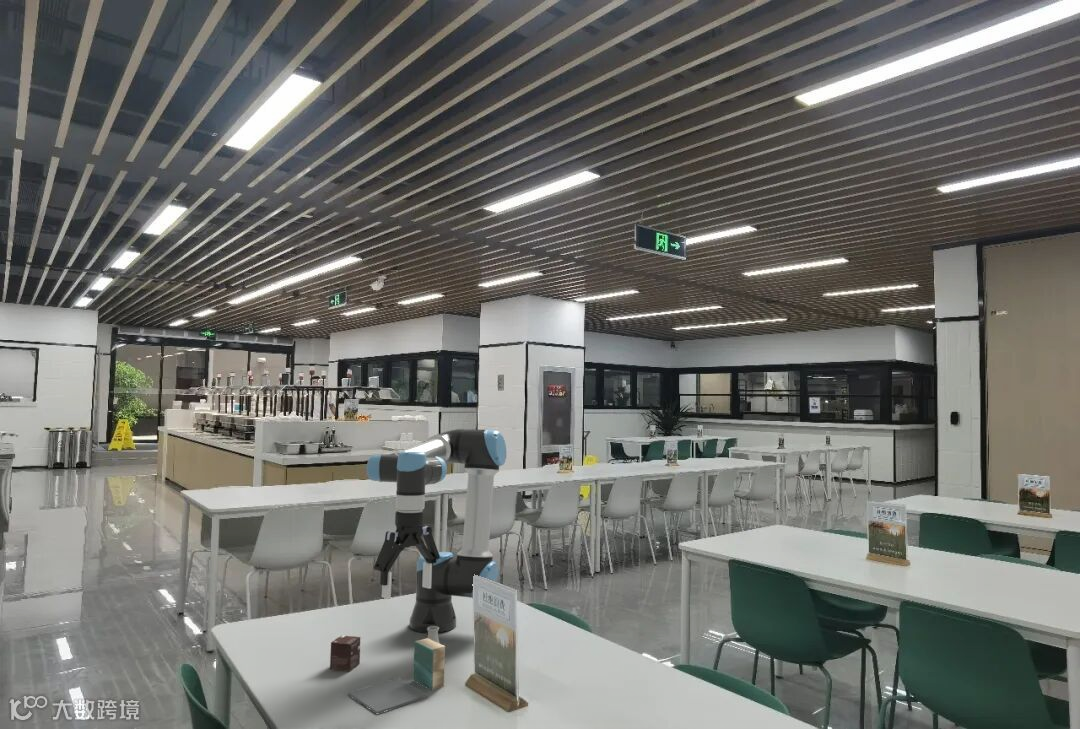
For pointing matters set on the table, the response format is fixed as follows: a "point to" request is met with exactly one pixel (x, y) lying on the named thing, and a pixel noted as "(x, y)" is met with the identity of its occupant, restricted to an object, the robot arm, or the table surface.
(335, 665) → the box
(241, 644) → the table surface
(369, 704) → the mat
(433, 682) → the slab
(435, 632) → the flask
